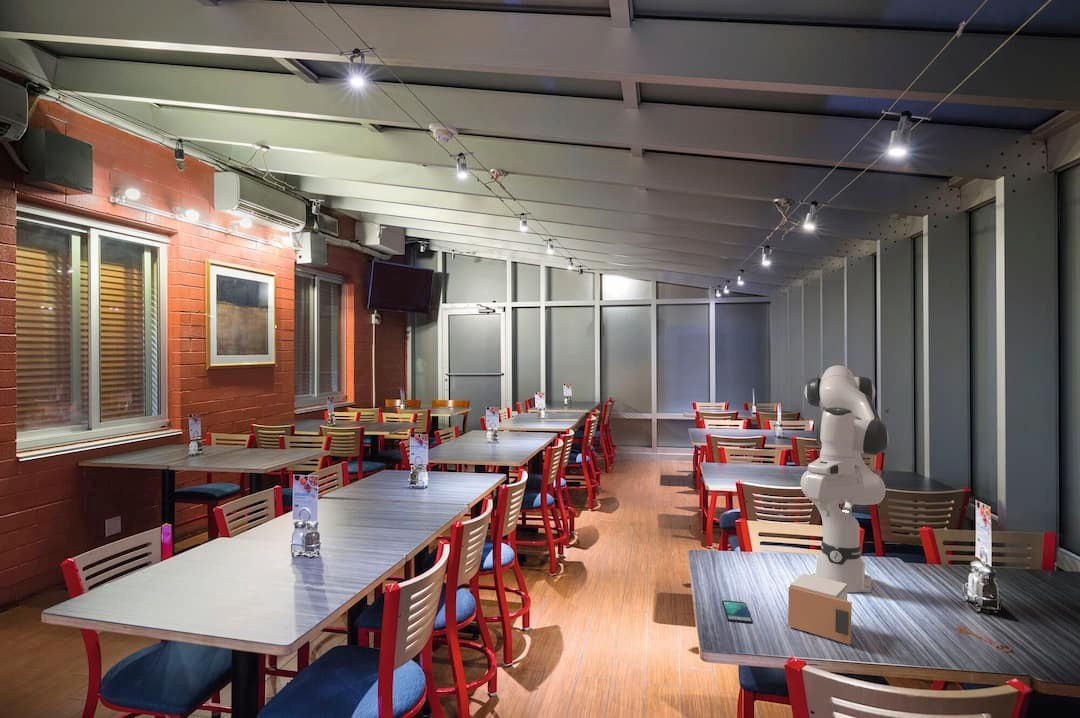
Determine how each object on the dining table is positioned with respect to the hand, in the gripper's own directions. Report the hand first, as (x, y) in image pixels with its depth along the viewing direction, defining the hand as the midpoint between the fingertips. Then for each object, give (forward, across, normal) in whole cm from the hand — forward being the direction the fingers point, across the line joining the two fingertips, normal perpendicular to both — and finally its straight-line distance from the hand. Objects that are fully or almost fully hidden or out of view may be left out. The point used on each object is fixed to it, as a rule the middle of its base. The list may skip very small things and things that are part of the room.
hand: (836, 515), depth 167 cm
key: (+33, -34, +20) cm, 51 cm away
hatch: (+32, +6, -1) cm, 33 cm away
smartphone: (+33, +14, -22) cm, 42 cm away
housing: (+33, 0, -5) cm, 33 cm away
